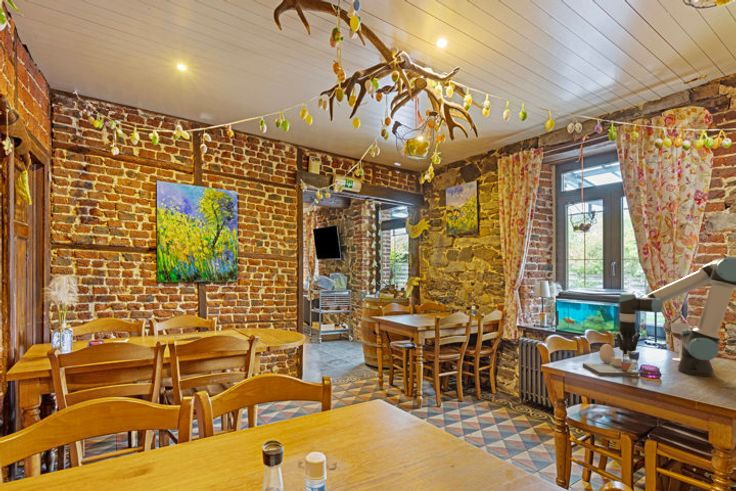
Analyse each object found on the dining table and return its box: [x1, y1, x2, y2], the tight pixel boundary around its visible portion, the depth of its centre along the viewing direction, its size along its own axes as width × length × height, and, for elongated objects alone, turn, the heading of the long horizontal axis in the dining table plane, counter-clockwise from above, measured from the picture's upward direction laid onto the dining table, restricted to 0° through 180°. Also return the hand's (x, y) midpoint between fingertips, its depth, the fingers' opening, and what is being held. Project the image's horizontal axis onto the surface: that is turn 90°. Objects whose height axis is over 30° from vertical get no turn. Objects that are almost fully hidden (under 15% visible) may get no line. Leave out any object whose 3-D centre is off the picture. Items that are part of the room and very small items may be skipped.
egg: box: [598, 343, 616, 364], centre depth 234 cm, size 8×8×11 cm
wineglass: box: [670, 322, 690, 362], centre depth 244 cm, size 9×10×22 cm
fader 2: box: [621, 360, 632, 371], centre depth 212 cm, size 3×4×4 cm
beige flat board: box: [582, 362, 638, 378], centre depth 217 cm, size 20×18×2 cm
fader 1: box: [611, 356, 623, 366], centre depth 221 cm, size 3×4×4 cm
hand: (627, 363), depth 221 cm, fingers closed
